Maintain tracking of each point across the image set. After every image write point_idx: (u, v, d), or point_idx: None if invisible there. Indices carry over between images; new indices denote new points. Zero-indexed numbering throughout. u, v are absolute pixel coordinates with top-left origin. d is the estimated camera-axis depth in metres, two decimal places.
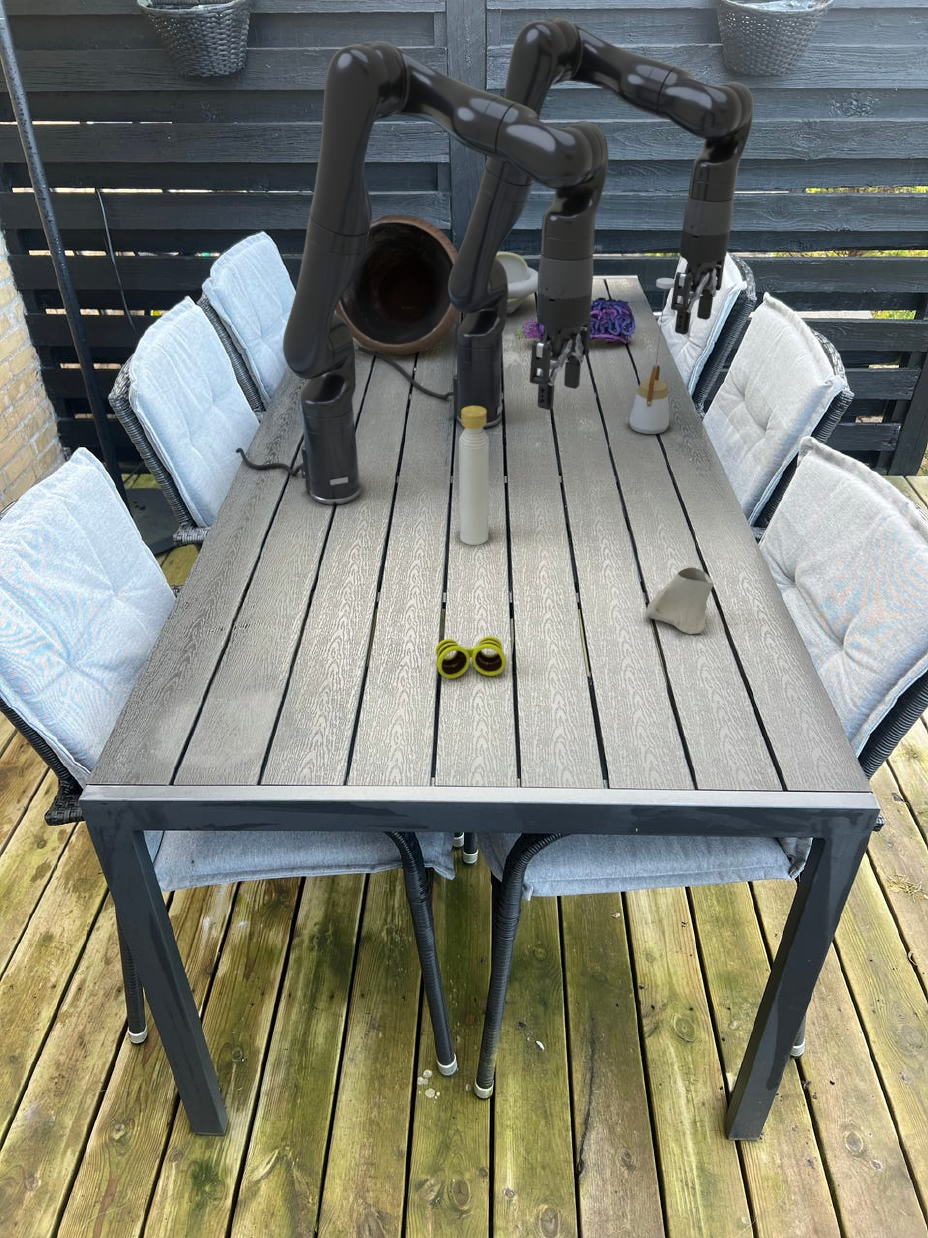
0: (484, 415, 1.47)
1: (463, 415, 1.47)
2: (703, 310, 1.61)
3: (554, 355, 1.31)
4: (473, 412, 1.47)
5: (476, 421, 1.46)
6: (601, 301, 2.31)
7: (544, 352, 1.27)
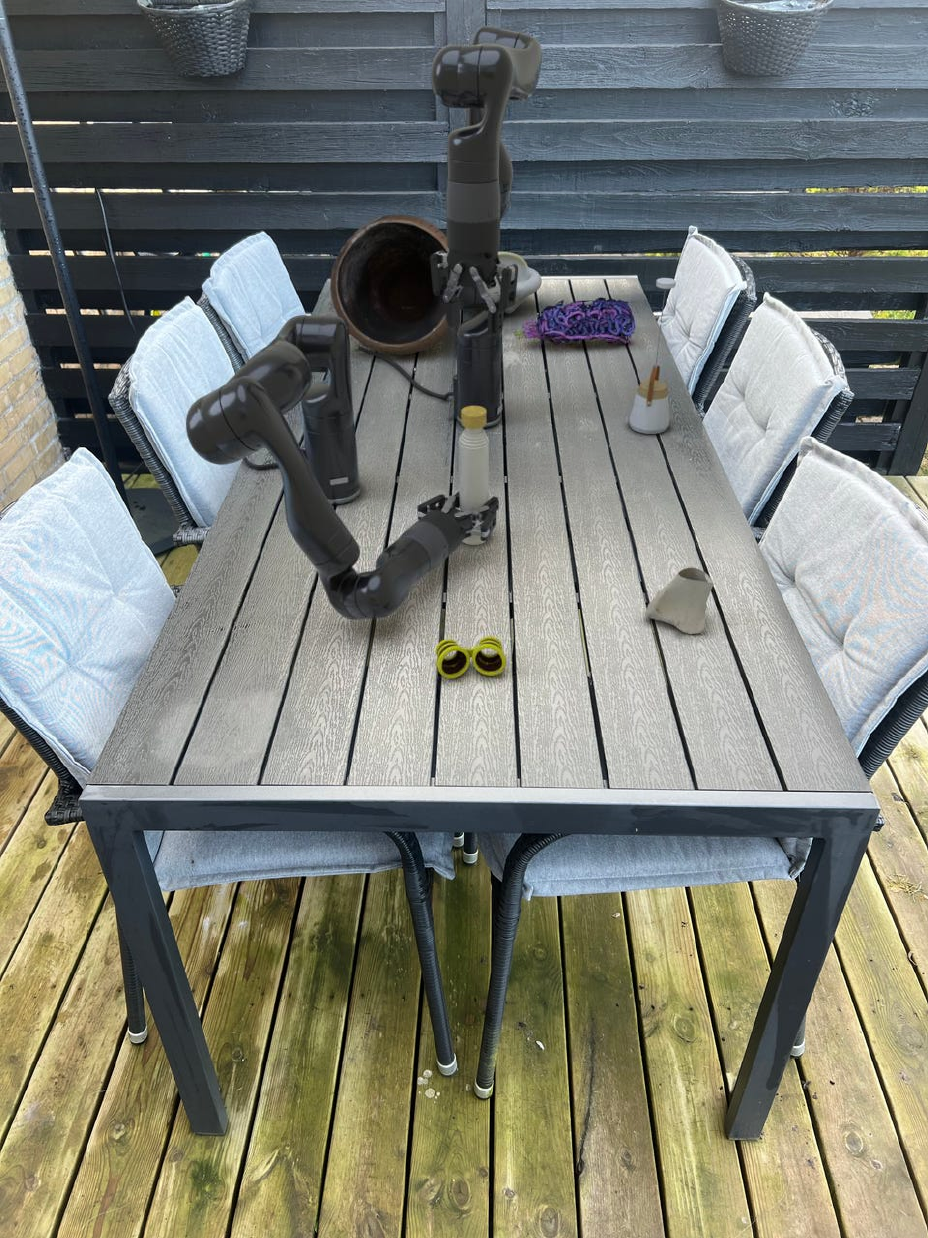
0: (484, 415, 1.47)
1: (463, 415, 1.47)
2: None
3: None
4: (473, 412, 1.47)
5: (476, 421, 1.46)
6: (601, 301, 2.31)
7: None
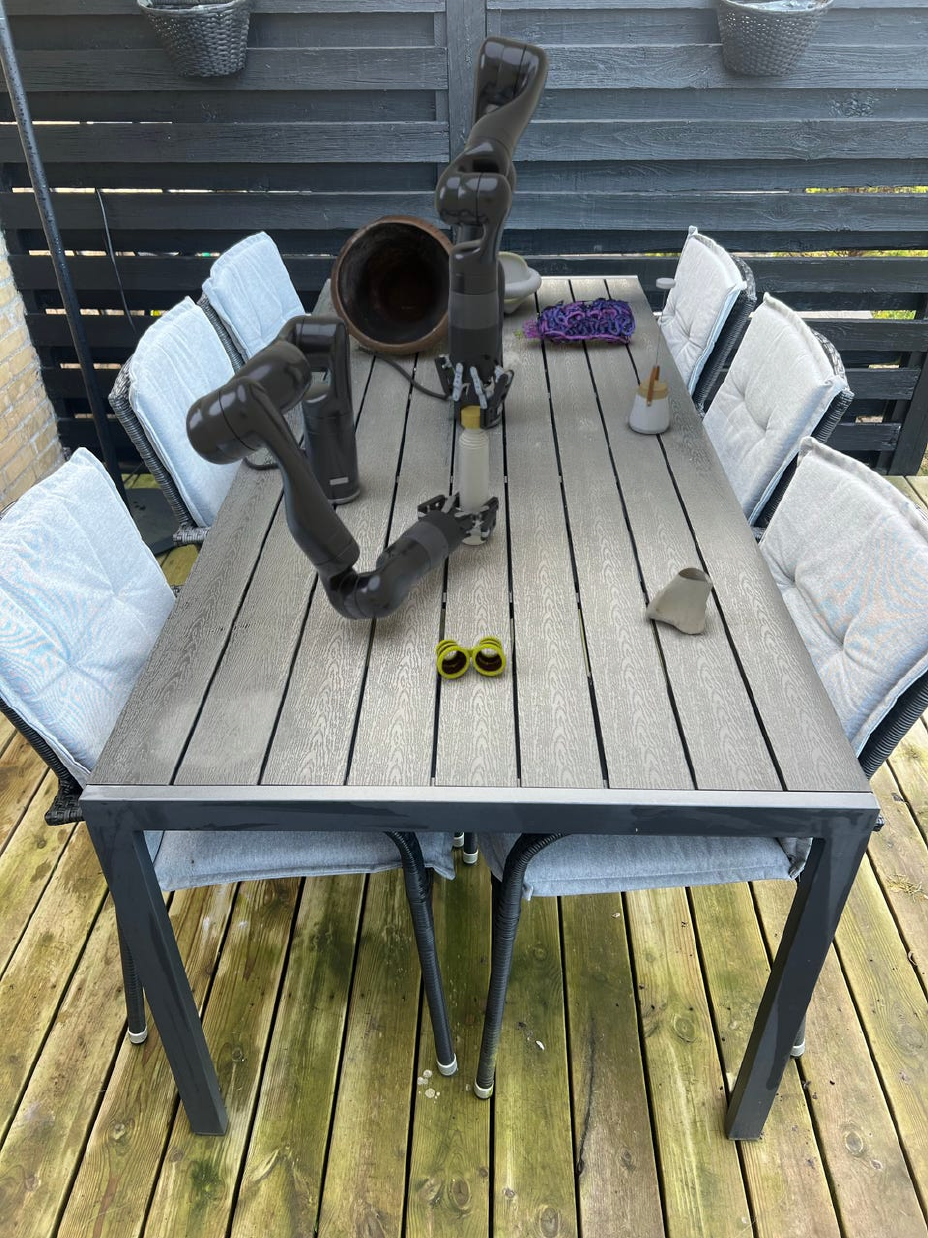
0: None
1: (463, 415, 1.47)
2: None
3: None
4: (473, 412, 1.47)
5: (476, 421, 1.46)
6: (601, 301, 2.31)
7: None
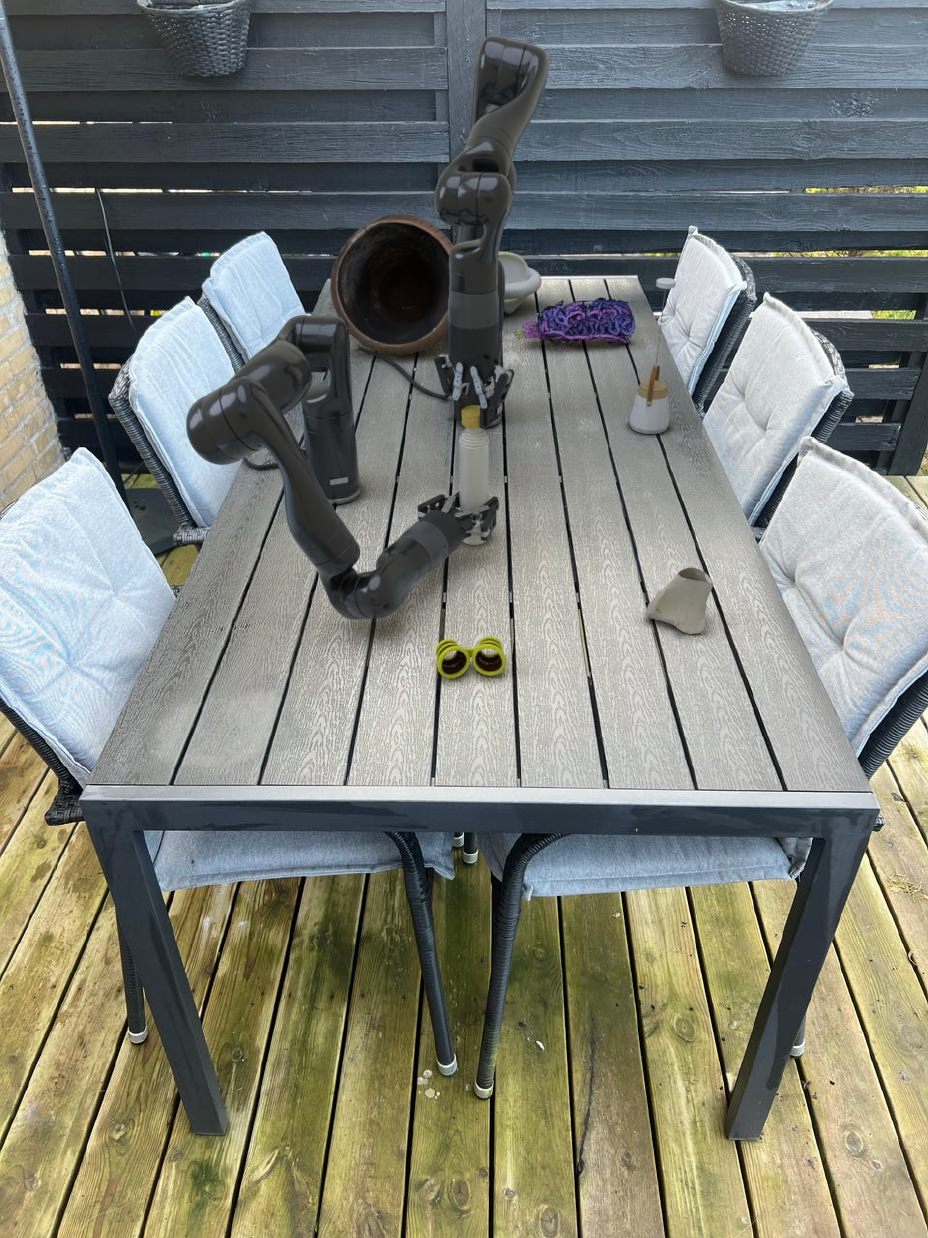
0: None
1: (478, 416, 1.46)
2: None
3: None
4: (477, 410, 1.47)
5: None
6: (601, 301, 2.31)
7: None
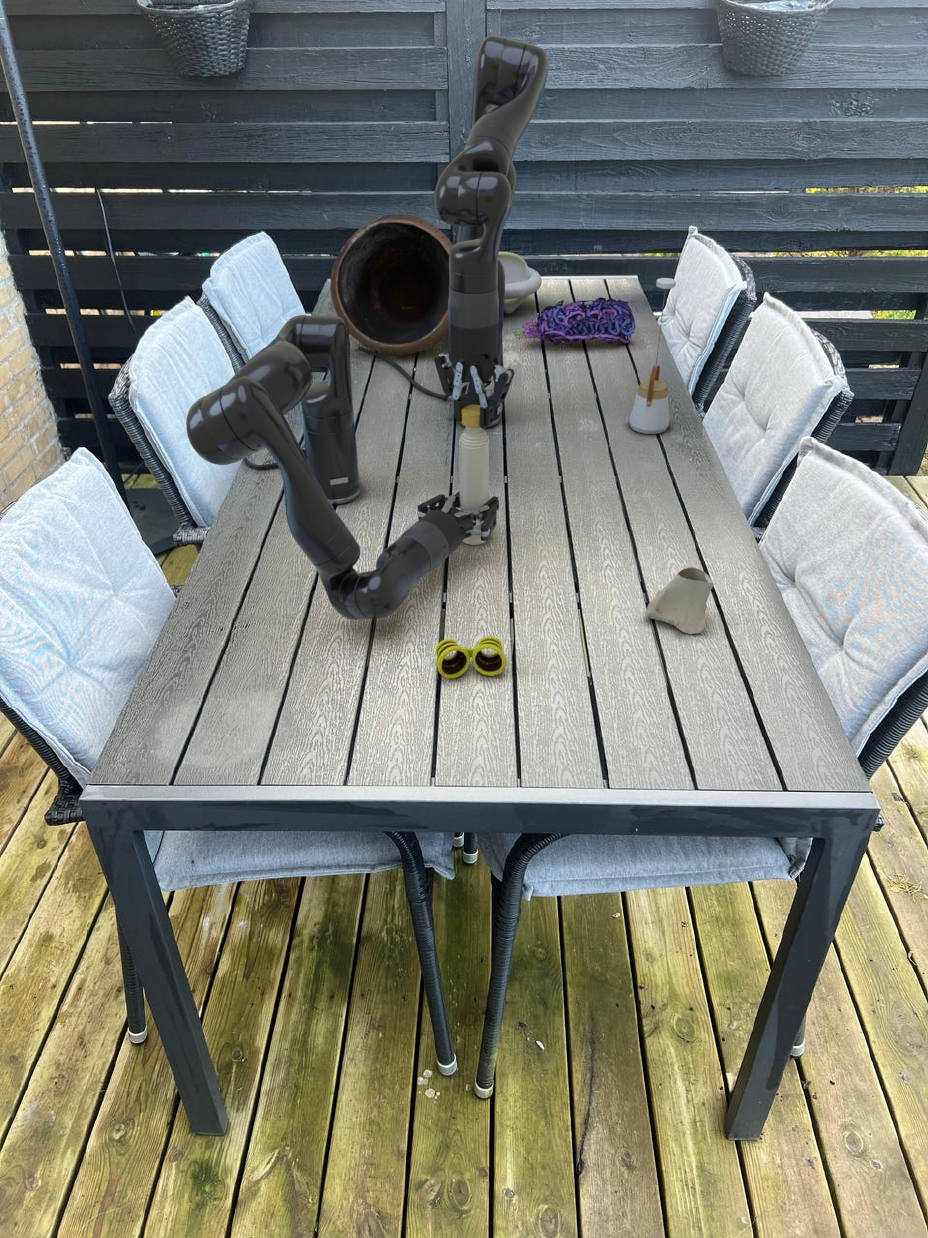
0: None
1: None
2: None
3: None
4: (475, 408, 1.48)
5: None
6: (601, 301, 2.31)
7: None
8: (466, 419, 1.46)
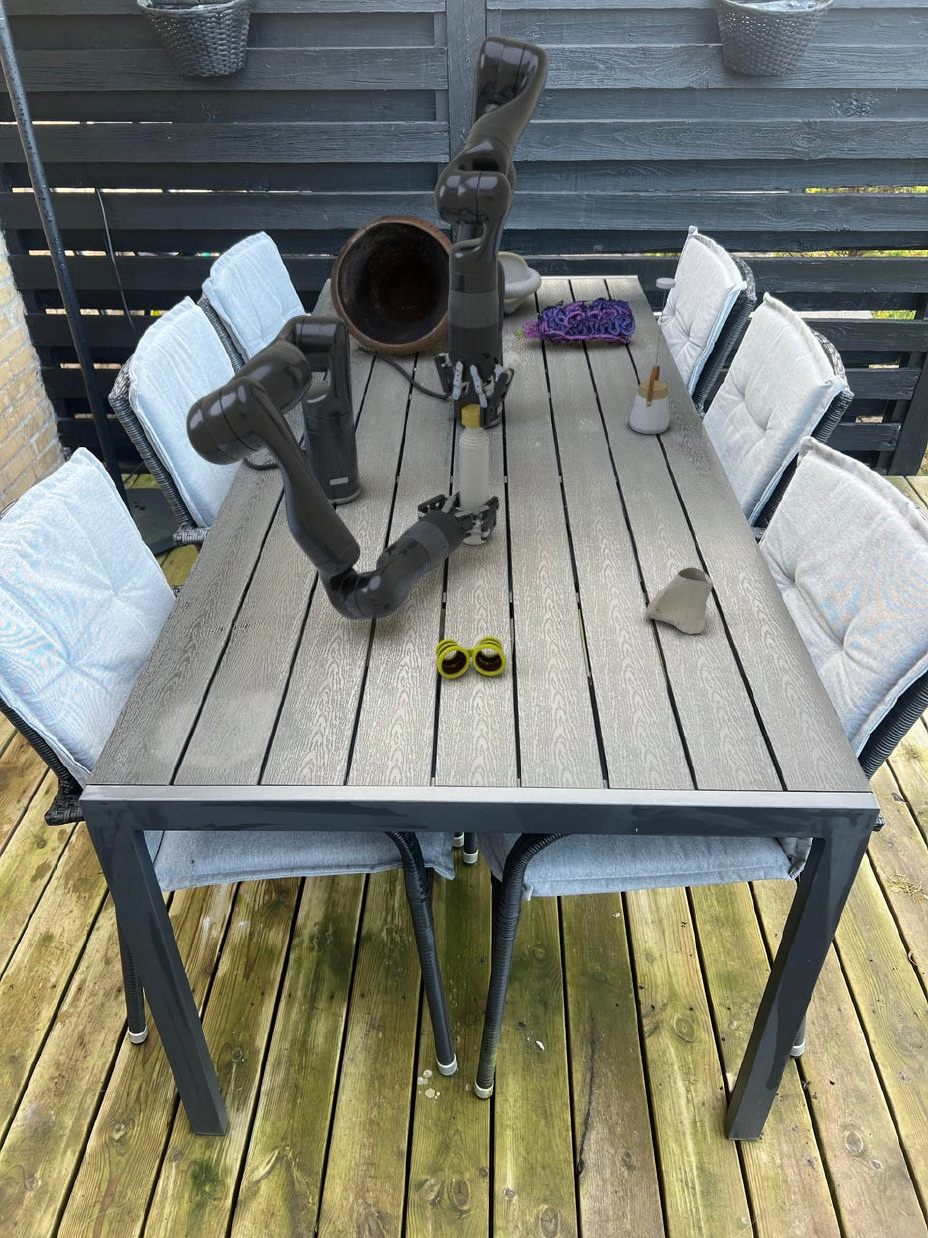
0: (462, 413, 1.47)
1: None
2: None
3: None
4: (471, 408, 1.47)
5: None
6: (601, 301, 2.31)
7: None
8: None
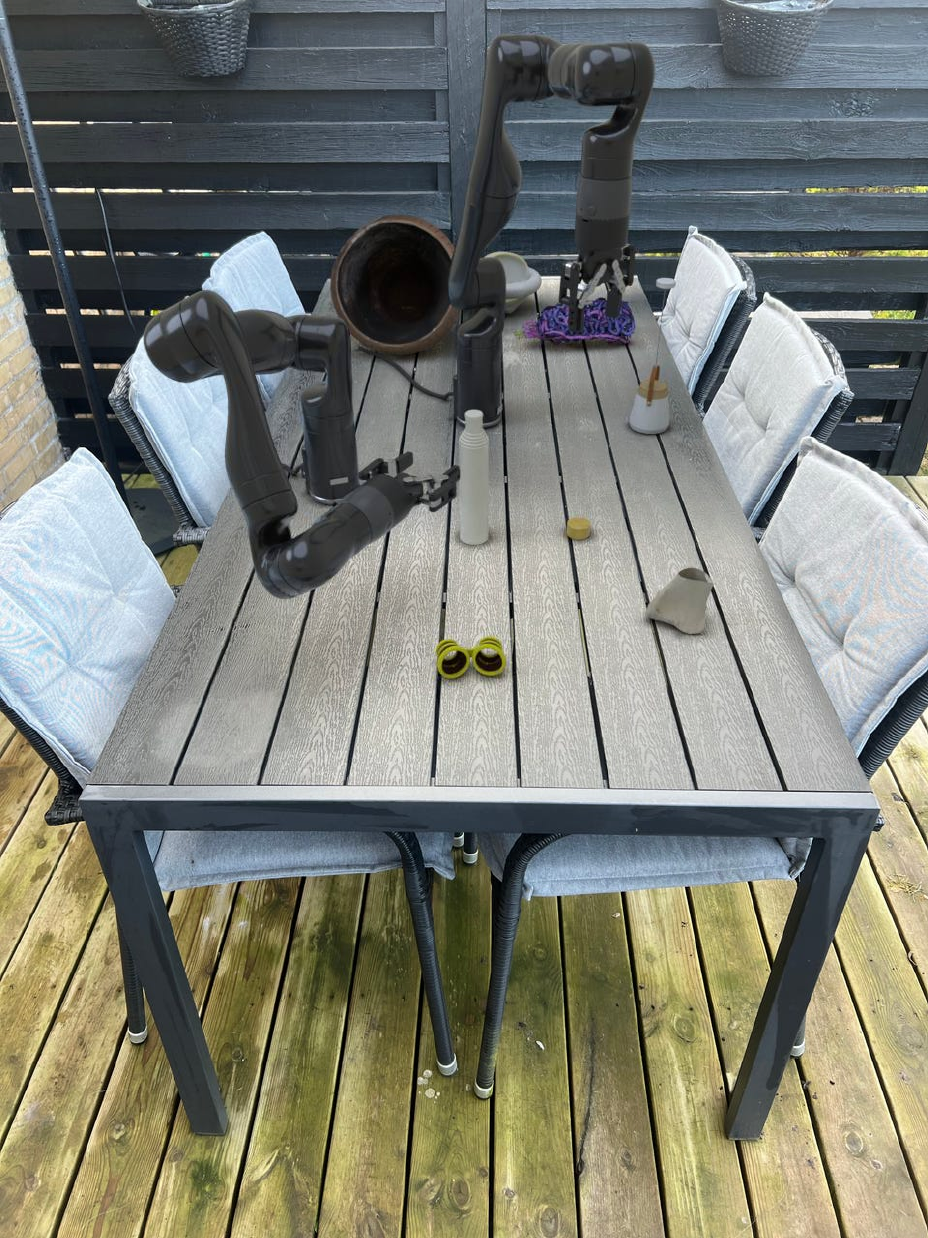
0: None
1: (588, 528, 1.60)
2: (611, 307, 1.41)
3: None
4: (581, 522, 1.61)
5: None
6: (601, 301, 2.31)
7: None
8: (567, 528, 1.61)
